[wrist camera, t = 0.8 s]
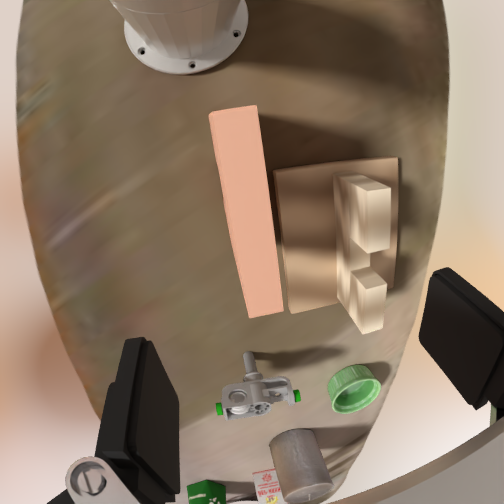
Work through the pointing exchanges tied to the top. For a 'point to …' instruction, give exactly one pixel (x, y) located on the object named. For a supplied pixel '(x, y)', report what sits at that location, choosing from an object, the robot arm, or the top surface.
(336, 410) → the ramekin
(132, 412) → the robot arm
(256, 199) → the salmon pink flat slab
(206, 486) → the milk carton
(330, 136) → the top surface
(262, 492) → the white cardboard box
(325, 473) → the pillar candle
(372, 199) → the slotted stand
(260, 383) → the mechanical component
